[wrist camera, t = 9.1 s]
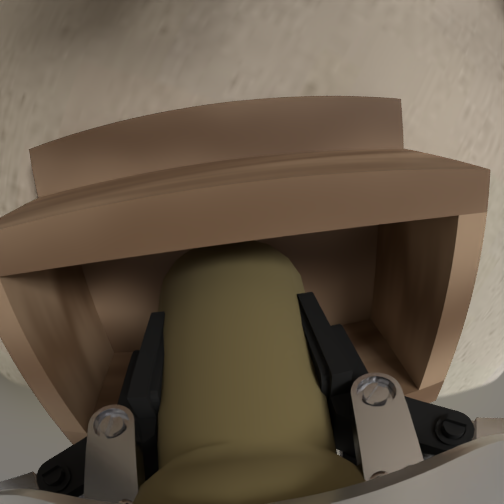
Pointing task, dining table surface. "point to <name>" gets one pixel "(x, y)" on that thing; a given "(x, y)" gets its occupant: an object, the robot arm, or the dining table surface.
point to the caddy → (238, 236)
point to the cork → (239, 386)
